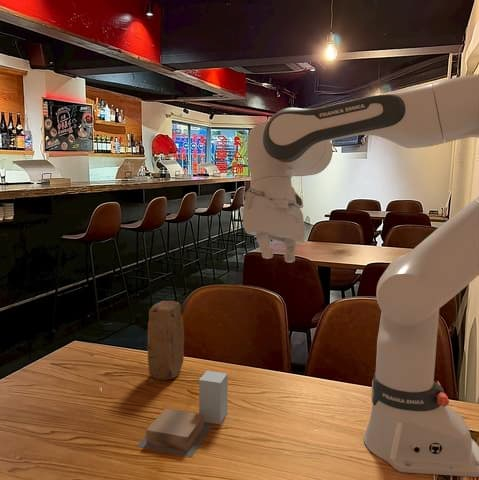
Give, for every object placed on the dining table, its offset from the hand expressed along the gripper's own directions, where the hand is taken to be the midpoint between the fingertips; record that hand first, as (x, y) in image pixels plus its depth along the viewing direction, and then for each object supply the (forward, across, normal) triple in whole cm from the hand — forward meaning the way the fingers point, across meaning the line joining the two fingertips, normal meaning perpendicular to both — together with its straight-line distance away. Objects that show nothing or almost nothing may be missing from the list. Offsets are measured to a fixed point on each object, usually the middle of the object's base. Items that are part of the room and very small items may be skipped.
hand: (279, 260), depth 97 cm
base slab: (+34, -7, +26) cm, 43 cm away
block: (+22, +14, +47) cm, 54 cm away
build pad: (+34, -6, +26) cm, 43 cm away
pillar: (+32, +4, +23) cm, 40 cm away
